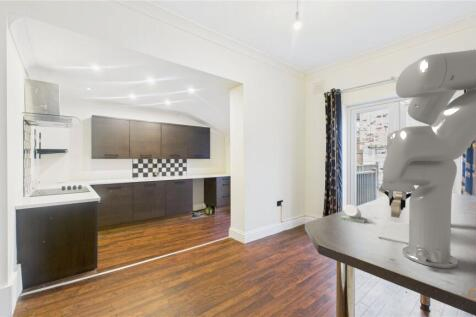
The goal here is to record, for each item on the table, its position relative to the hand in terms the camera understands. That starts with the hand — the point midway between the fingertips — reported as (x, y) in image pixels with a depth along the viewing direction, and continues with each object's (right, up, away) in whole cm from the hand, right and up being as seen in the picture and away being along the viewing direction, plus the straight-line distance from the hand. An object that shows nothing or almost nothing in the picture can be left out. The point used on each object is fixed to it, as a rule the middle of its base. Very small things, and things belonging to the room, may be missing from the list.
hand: (397, 208), depth 89 cm
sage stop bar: (-10, -9, +16) cm, 21 cm away
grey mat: (+1, -10, +1) cm, 10 cm away
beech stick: (+2, -1, +2) cm, 3 cm away
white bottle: (-11, -4, +15) cm, 19 cm away
